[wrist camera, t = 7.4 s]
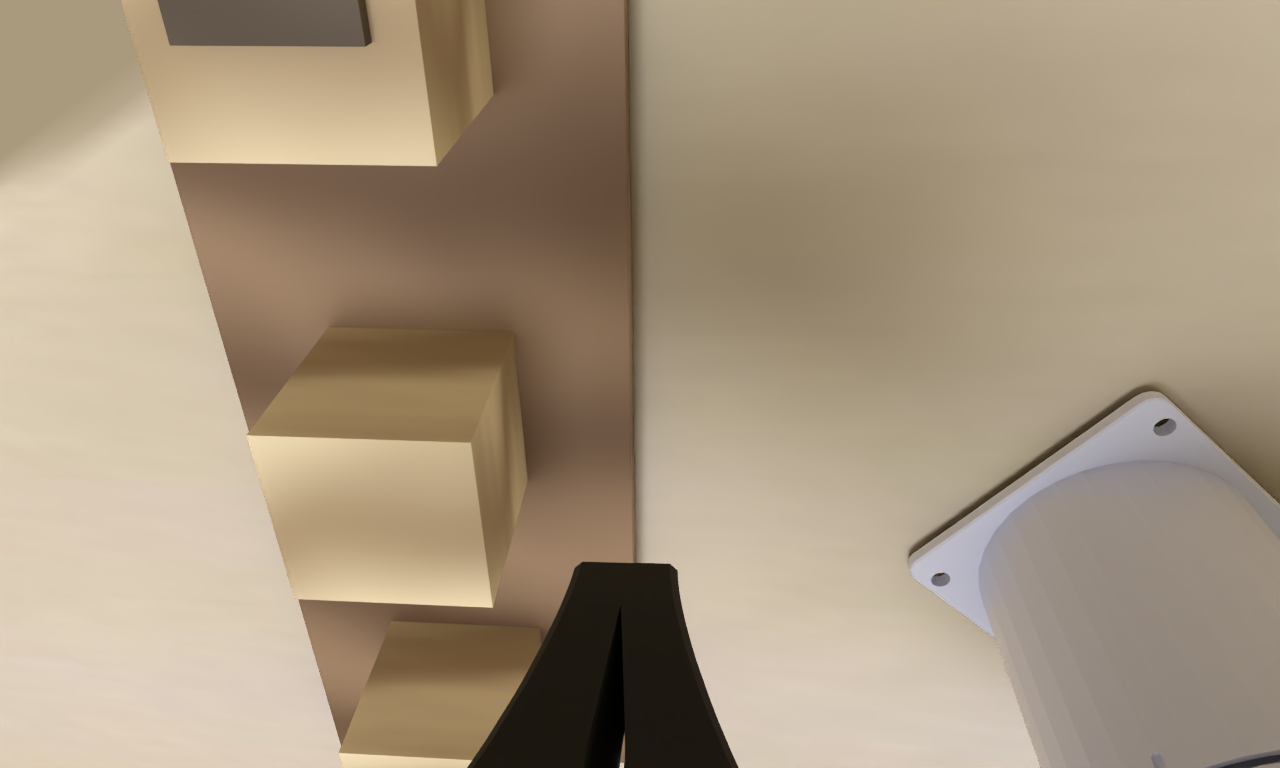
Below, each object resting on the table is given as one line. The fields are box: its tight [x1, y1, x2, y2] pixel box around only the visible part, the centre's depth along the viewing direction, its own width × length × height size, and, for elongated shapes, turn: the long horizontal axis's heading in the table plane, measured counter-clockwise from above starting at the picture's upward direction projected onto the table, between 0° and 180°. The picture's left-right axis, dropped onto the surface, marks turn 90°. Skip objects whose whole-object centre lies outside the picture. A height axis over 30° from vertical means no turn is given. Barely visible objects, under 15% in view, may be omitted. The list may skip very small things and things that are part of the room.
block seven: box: [339, 621, 542, 768], centre depth 26 cm, size 4×4×5 cm
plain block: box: [246, 327, 528, 608], centre depth 21 cm, size 4×4×4 cm
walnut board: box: [170, 0, 636, 763], centre depth 23 cm, size 28×10×1 cm, turn 1°
